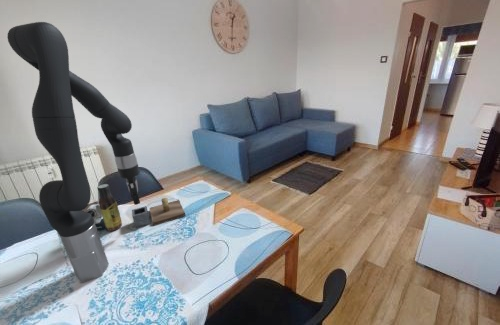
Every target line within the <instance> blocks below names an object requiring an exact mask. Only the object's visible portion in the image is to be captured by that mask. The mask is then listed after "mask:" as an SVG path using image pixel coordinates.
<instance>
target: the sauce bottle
mask: <svg viewBox="0 0 500 325" xmlns="http://www.w3.org/2000/svg"><path fill="white" fill-rule="evenodd" d="M97 191H98V193H99V197H100V198H99V201H98V203H99V205H100V210H101V213H102V219H103V220H104V223H105V226H106V228H105V229H106V230H107V231H109V232H113V231H116V230H118V229H120V228H121V227H122V225H123V223H122V222H123V221H122V217H121V214H120V209H119V206H118V203H117V200H116V199H115V197H114V196H113V195H112V193H111V189H110V185H109V184H107V183H104V184H101V185H98V186H97Z"/></svg>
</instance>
